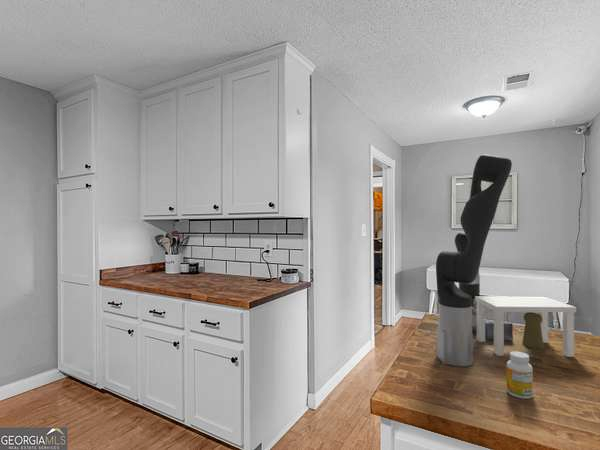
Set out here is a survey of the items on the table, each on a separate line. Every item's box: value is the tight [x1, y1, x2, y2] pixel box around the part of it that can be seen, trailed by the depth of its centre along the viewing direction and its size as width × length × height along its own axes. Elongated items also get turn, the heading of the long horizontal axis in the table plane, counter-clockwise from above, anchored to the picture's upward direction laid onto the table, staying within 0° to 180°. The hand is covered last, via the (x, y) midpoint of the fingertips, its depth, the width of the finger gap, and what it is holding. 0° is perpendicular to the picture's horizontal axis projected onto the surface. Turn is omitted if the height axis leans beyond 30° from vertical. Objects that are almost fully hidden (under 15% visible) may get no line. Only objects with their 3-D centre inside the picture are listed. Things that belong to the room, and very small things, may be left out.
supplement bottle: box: [506, 350, 534, 400], centre depth 82 cm, size 5×5×10 cm
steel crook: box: [472, 311, 514, 341], centre depth 128 cm, size 9×20×6 cm, turn 176°
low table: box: [475, 295, 577, 358], centre depth 111 cm, size 24×14×16 cm, turn 86°
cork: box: [522, 312, 545, 350], centre depth 113 cm, size 6×6×11 cm
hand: (469, 323), depth 135 cm, fingers closed on steel crook, 2 cm apart
